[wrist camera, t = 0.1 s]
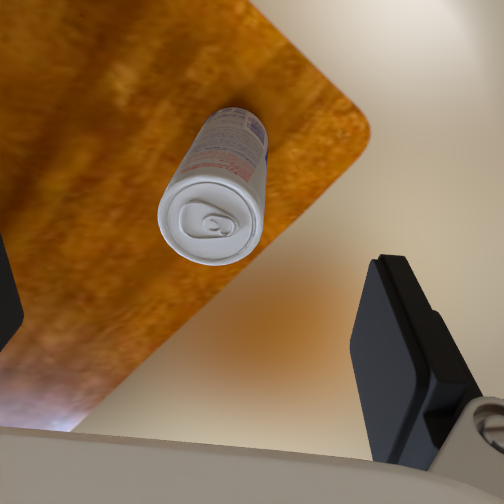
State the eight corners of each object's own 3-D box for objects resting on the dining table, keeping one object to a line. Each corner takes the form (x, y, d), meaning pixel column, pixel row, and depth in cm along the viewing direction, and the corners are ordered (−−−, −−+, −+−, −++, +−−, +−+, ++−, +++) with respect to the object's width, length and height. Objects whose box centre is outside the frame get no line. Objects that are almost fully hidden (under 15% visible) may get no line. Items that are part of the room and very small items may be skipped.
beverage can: (188, 124, 34) (134, 198, 21) (250, 93, 32) (233, 154, 19) (220, 183, 36) (189, 282, 23) (278, 157, 35) (280, 248, 22)
